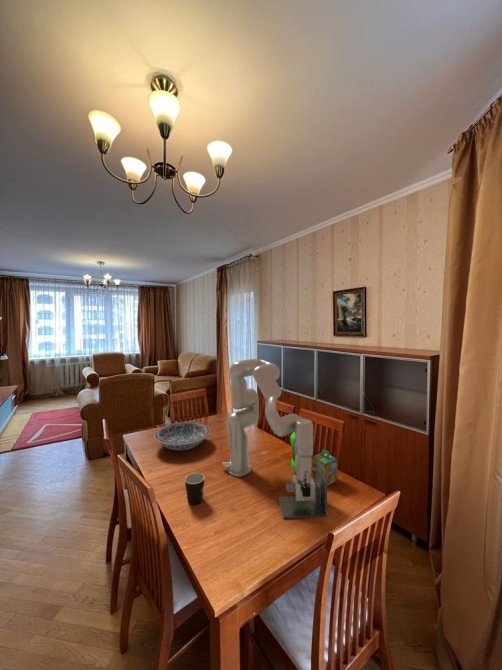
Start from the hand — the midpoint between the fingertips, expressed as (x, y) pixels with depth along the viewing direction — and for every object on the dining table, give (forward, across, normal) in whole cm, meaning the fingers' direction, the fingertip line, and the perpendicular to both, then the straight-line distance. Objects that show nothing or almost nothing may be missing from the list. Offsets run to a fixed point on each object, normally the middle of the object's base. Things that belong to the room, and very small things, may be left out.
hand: (303, 488), depth 113 cm
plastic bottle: (+8, -28, +5) cm, 29 cm away
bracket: (+8, 0, -1) cm, 8 cm away
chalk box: (+8, -19, +15) cm, 25 cm away
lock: (+3, 0, 0) cm, 3 cm away
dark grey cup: (+8, -9, -46) cm, 47 cm away
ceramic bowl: (+9, -62, -63) cm, 89 cm away
